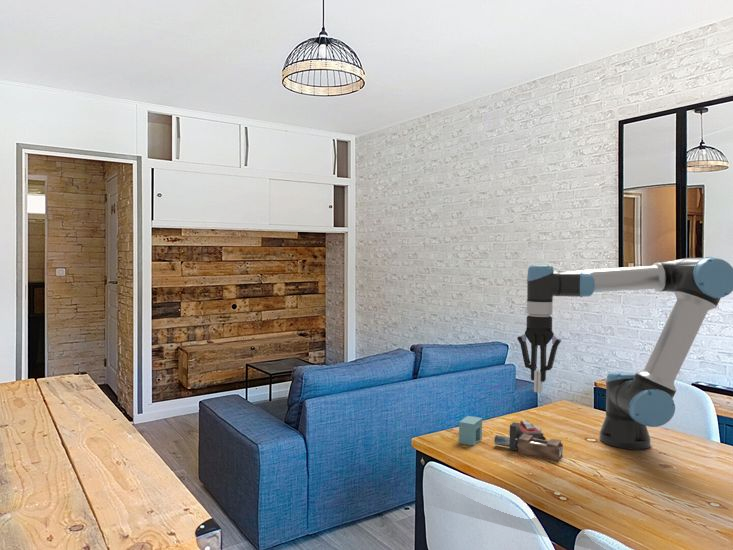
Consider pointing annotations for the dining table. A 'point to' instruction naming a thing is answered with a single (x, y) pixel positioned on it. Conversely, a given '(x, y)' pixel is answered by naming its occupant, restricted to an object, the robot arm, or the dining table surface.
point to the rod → (514, 438)
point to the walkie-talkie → (530, 430)
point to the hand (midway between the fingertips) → (538, 391)
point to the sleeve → (539, 447)
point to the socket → (470, 430)
